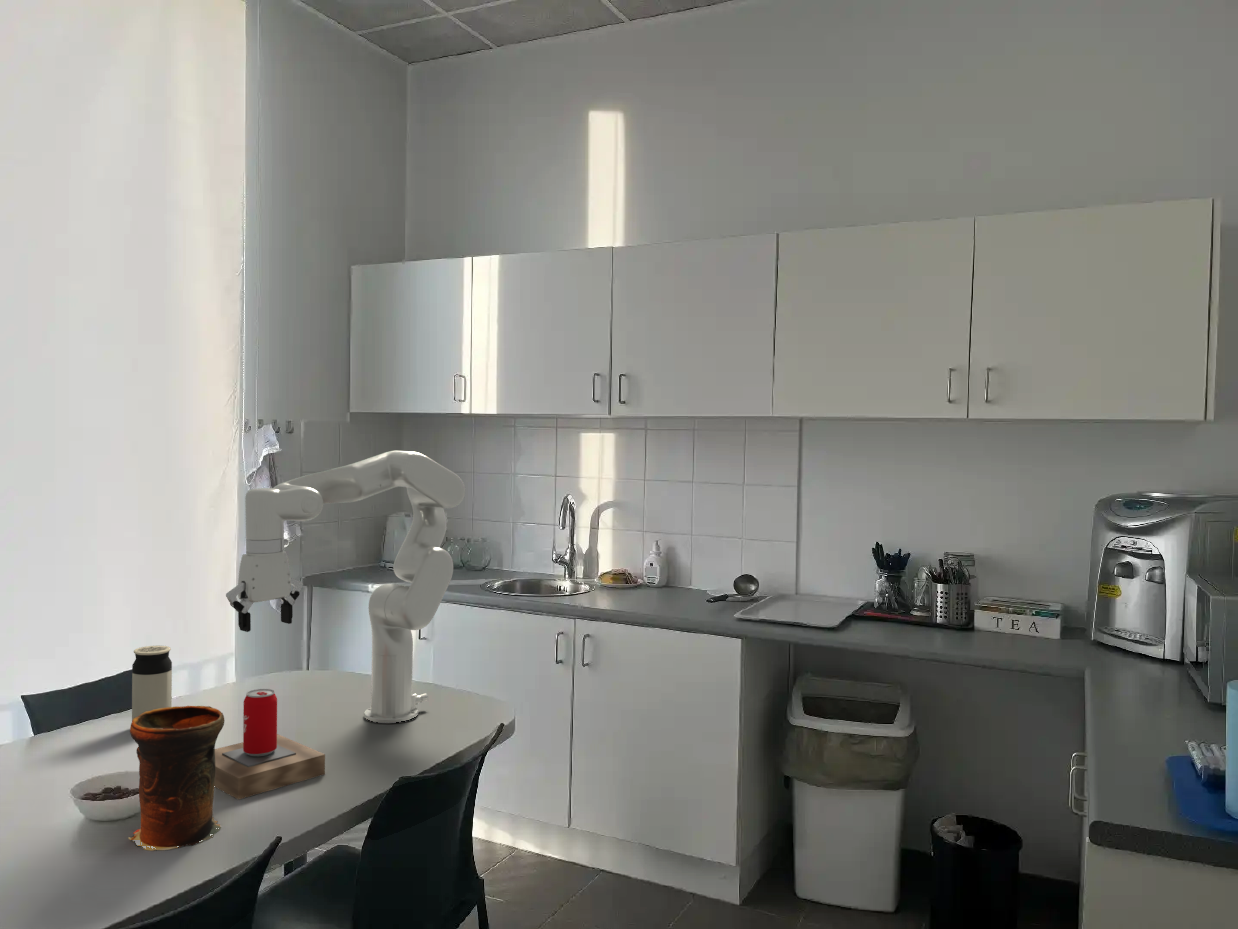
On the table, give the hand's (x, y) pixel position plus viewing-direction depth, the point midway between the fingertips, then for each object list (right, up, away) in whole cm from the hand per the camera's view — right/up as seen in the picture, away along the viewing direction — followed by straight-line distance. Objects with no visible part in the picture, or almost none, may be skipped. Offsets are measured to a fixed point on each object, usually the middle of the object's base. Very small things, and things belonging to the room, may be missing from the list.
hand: (266, 626), depth 202 cm
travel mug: (-30, -25, +12) cm, 41 cm away
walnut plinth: (+4, -27, -15) cm, 31 cm away
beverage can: (+4, -23, -14) cm, 27 cm away
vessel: (+1, -28, -42) cm, 50 cm away
